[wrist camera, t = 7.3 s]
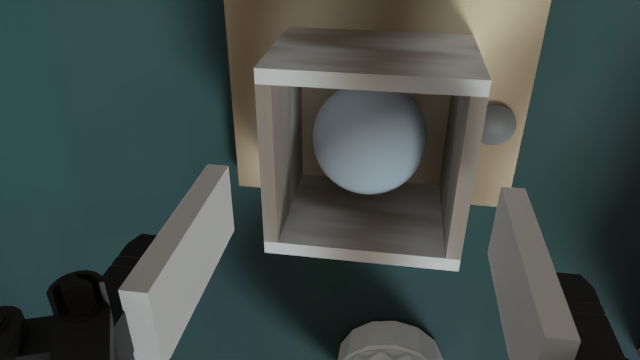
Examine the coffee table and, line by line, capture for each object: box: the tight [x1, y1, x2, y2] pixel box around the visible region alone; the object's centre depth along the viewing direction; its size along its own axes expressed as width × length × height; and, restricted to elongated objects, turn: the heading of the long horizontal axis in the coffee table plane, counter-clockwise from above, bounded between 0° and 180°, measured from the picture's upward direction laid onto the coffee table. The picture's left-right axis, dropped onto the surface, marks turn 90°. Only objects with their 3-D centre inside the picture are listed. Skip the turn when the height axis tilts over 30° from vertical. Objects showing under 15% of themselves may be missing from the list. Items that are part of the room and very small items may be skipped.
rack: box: [224, 0, 551, 272], centre depth 21 cm, size 14×20×7 cm
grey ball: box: [313, 89, 427, 195], centre depth 23 cm, size 5×5×5 cm
